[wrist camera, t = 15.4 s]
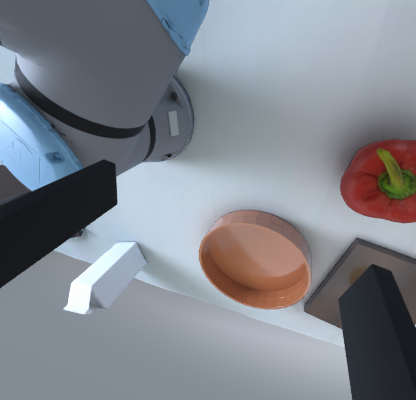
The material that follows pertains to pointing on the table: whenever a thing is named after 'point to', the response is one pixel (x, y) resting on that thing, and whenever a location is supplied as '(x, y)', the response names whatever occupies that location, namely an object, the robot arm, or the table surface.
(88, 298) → the milk carton
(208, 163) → the table surface
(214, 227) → the basin
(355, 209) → the vegetable
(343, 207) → the table surface
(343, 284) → the board
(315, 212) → the table surface
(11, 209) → the robot arm
